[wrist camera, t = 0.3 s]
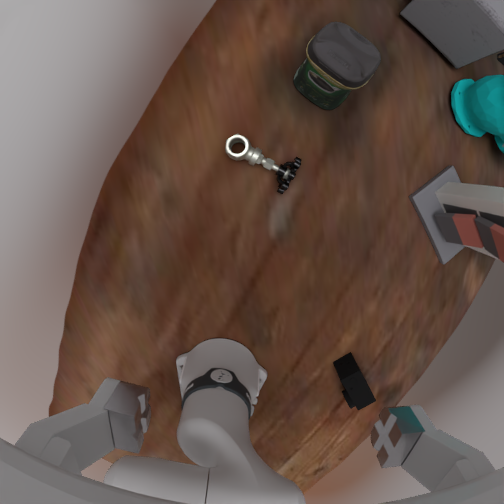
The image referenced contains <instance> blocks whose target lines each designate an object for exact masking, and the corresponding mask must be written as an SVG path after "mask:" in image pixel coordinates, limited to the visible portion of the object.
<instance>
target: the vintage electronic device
mask: <svg viewBox="0 0 504 504" xmlns="http://www.w3.org/2000/svg"><path fill="white" fill-rule="evenodd" d="M399 14H401V15H402V16H403V17H404V18H405V19H406V20H408V21H409V22H410V23H411V24H412V25H413V26H414V27H415V28H416V29H418V30H419V31H420V32H421V33H422V34H423V35H424V36H425V37H426V38H427V39H428V40H429V41H430V42H431V43H432V44H433V45H434V46H435V47H436V48H437V49H438V50H439V51H440V52H441V53H442V54H443V55H444V56H445V57H446V58H447V59H448V60H449V61H450V62H451V63H452V65H453V66H454V67H455V68H456V69H458V68H460V67H463V66H465V65H467V64H470V63H472V62H474V61H477V60H479V59H482V58H484V57H486V56H489V55H491V54H494V53H496V52H499V51H501V50H504V0H412V1H411V2H410V3H409V4H408V5H407V6H406V7H405V8H404V9H403V10H402V11H401V12H400V13H399Z"/></svg>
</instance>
